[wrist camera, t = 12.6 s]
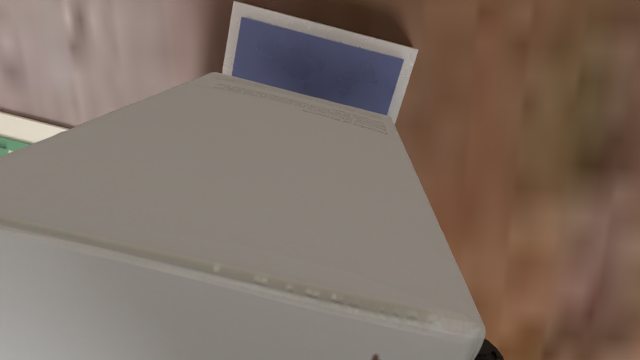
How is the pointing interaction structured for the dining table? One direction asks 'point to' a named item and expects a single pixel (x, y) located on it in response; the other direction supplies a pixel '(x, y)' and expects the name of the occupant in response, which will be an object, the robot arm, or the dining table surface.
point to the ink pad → (317, 59)
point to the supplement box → (226, 236)
